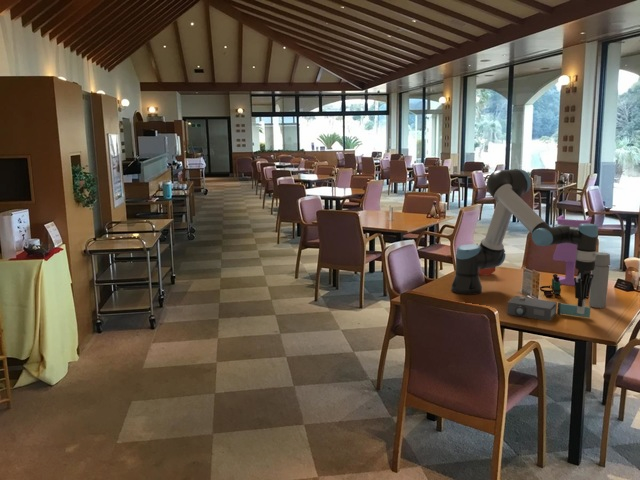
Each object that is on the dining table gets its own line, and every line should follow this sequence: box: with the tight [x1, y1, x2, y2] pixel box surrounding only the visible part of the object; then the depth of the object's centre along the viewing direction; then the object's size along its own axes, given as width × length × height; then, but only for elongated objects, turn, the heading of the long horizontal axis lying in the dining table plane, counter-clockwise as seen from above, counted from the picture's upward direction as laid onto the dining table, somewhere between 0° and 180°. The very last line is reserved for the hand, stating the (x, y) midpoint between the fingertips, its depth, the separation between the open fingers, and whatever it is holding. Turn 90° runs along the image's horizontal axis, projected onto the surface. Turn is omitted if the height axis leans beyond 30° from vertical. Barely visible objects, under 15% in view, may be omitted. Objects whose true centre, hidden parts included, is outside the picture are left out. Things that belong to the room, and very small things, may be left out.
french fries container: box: [475, 243, 496, 276], centre depth 322 cm, size 5×11×18 cm, turn 89°
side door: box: [556, 301, 592, 319], centre depth 247 cm, size 2×13×5 cm, turn 59°
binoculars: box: [539, 273, 563, 299], centre depth 278 cm, size 9×11×10 cm
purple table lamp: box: [552, 215, 593, 287], centre depth 301 cm, size 16×16×35 cm
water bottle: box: [588, 251, 611, 309], centre depth 260 cm, size 9×8×25 cm
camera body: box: [506, 295, 558, 322], centre depth 250 cm, size 18×14×6 cm
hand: (580, 313), depth 244 cm, fingers closed
